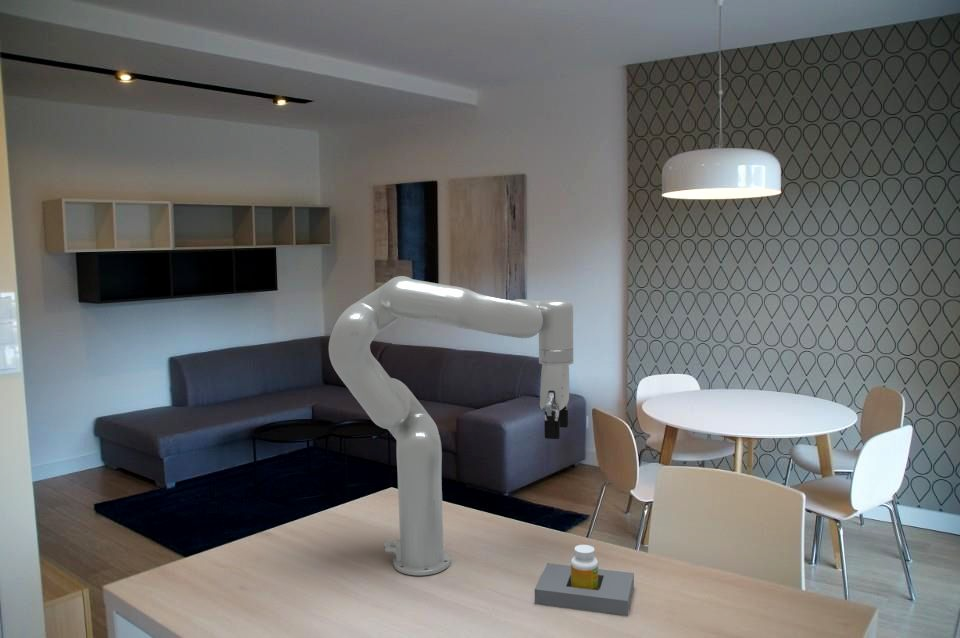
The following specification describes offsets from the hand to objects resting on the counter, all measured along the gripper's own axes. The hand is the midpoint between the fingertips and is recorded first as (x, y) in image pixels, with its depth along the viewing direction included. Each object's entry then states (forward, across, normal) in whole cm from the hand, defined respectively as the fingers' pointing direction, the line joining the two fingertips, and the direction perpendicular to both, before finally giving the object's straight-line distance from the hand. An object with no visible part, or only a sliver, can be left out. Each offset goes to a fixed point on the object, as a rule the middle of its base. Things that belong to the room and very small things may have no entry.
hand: (556, 432), depth 165 cm
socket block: (+28, +17, +9) cm, 34 cm away
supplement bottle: (+28, +17, +9) cm, 34 cm away
